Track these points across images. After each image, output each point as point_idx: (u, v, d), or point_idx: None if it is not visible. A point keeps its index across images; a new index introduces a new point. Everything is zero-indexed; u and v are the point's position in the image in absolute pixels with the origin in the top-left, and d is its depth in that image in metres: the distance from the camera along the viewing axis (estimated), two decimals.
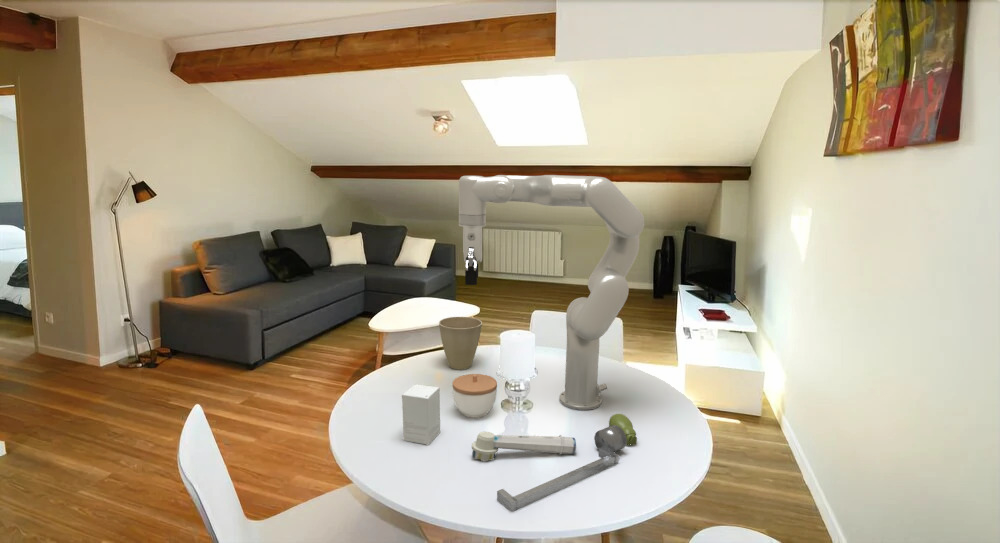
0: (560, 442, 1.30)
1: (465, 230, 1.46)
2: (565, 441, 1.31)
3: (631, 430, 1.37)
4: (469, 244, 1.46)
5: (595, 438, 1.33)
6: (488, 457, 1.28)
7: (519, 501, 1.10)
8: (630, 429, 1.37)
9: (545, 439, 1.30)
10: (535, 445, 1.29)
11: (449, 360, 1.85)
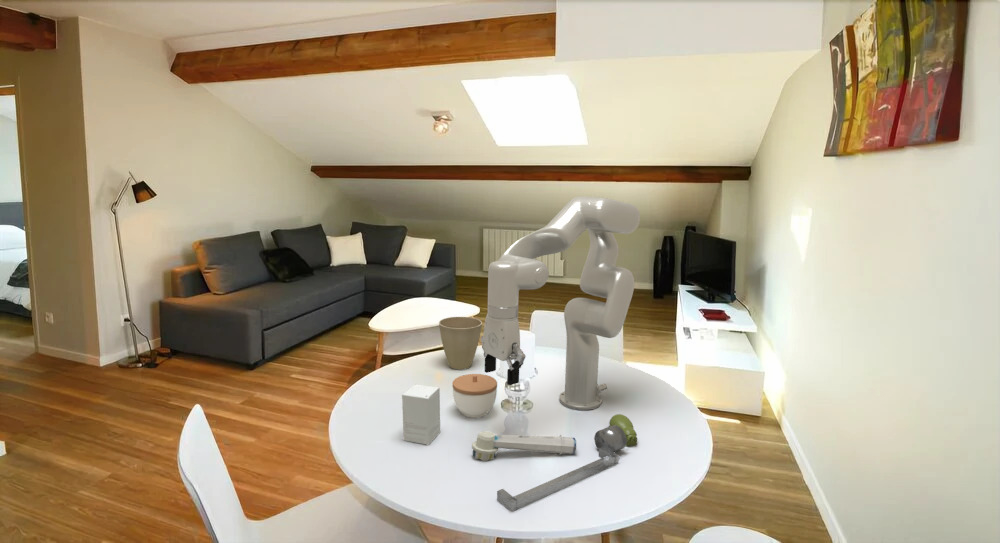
0: (560, 442, 1.30)
1: None
2: (565, 441, 1.31)
3: (632, 430, 1.36)
4: None
5: (595, 438, 1.33)
6: (488, 457, 1.28)
7: (519, 501, 1.10)
8: (631, 430, 1.37)
9: (545, 439, 1.30)
10: (535, 445, 1.29)
11: (449, 360, 1.85)
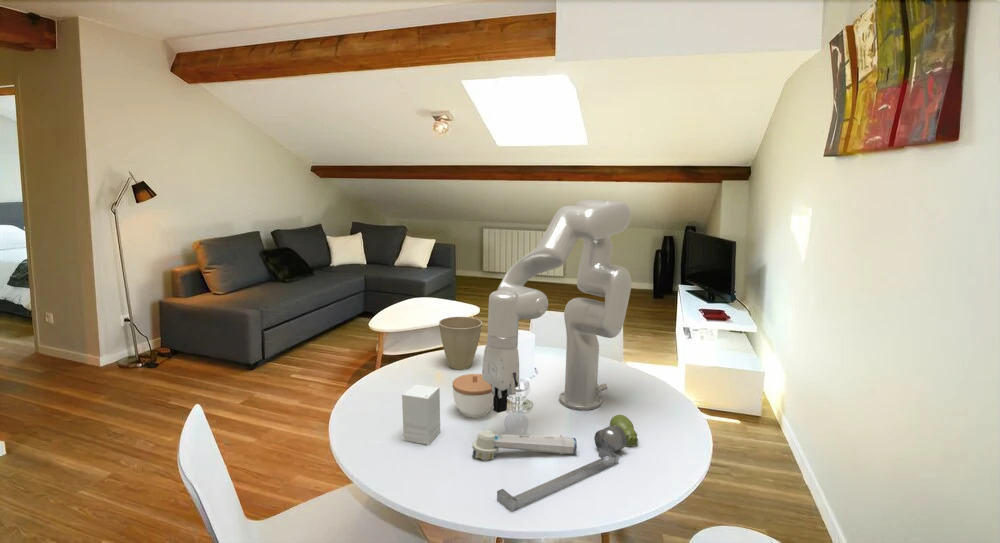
0: (561, 442, 1.30)
1: None
2: (565, 441, 1.31)
3: (632, 431, 1.36)
4: None
5: (595, 438, 1.33)
6: (489, 457, 1.28)
7: (519, 501, 1.10)
8: (631, 430, 1.36)
9: (545, 439, 1.30)
10: (535, 445, 1.29)
11: (449, 360, 1.85)
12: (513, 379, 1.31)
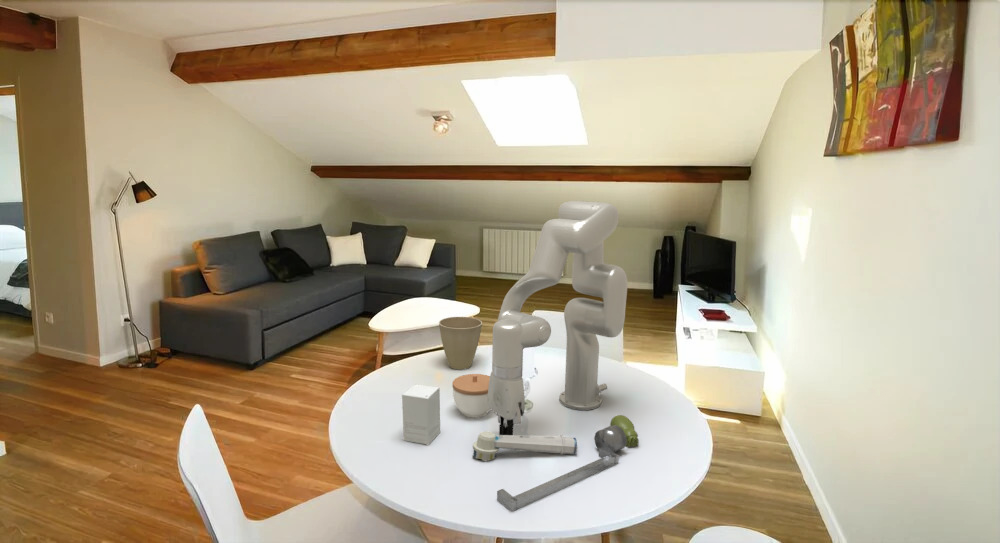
0: (561, 442, 1.30)
1: None
2: (566, 441, 1.31)
3: (633, 431, 1.36)
4: None
5: (595, 438, 1.33)
6: (489, 457, 1.28)
7: (519, 501, 1.10)
8: (632, 431, 1.36)
9: (546, 439, 1.30)
10: (535, 445, 1.29)
11: (449, 360, 1.85)
12: (518, 408, 1.31)
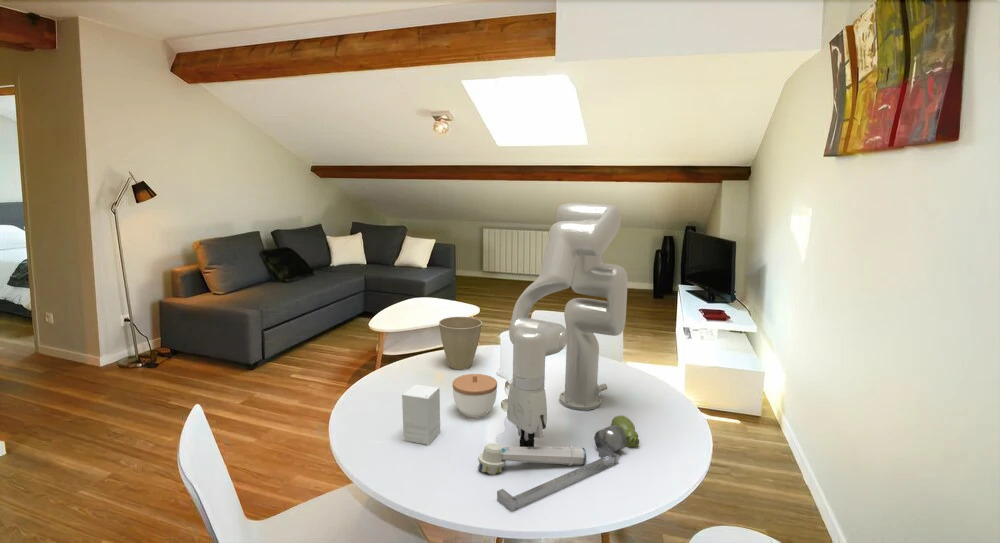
0: (570, 453, 1.26)
1: None
2: (575, 452, 1.26)
3: (633, 432, 1.35)
4: None
5: (595, 438, 1.33)
6: (496, 470, 1.22)
7: (519, 501, 1.10)
8: (632, 431, 1.36)
9: (554, 450, 1.25)
10: (544, 457, 1.24)
11: (449, 360, 1.85)
12: (540, 421, 1.25)
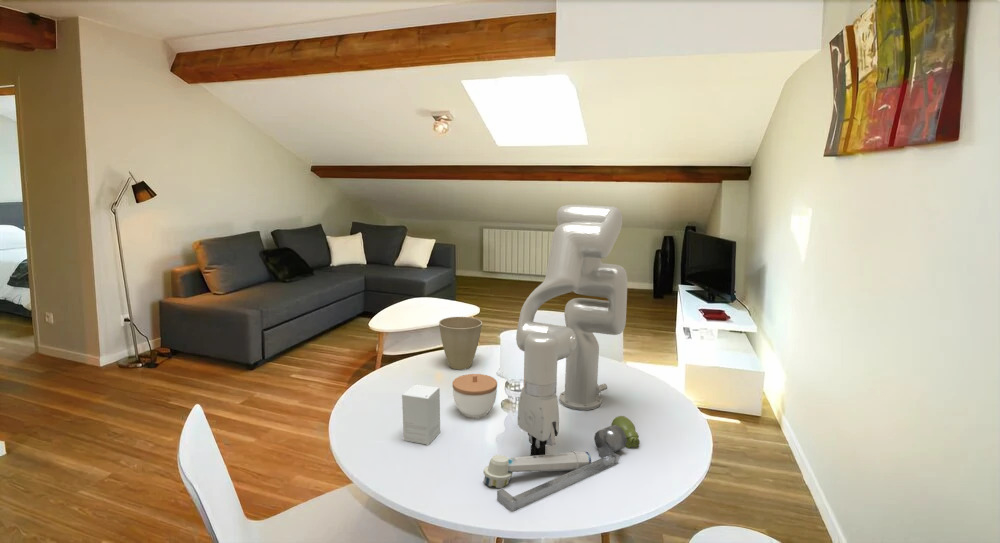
0: (575, 458, 1.23)
1: None
2: (580, 457, 1.24)
3: (634, 432, 1.35)
4: None
5: (595, 438, 1.33)
6: (504, 483, 1.18)
7: (519, 501, 1.10)
8: (633, 432, 1.36)
9: (560, 457, 1.22)
10: (550, 465, 1.21)
11: (449, 360, 1.85)
12: (553, 428, 1.22)
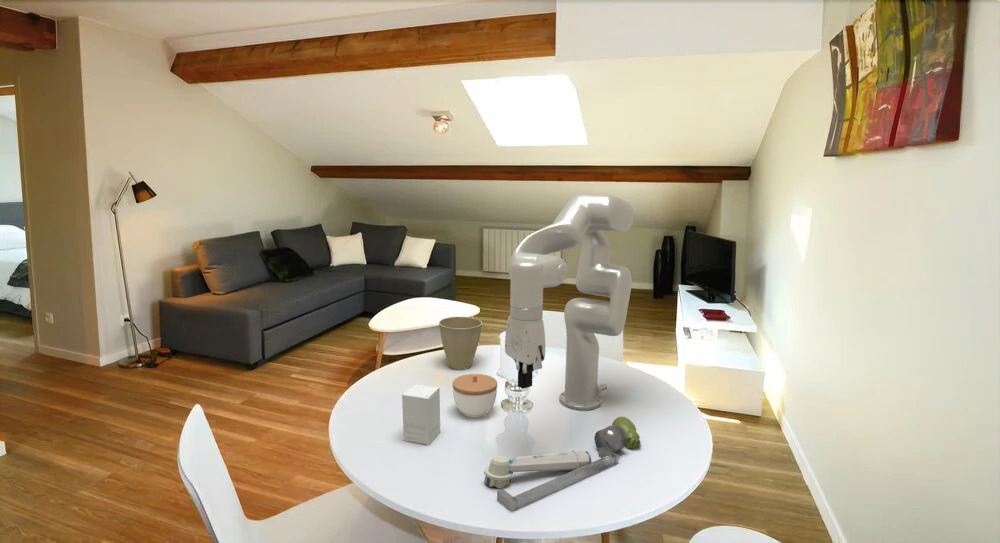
0: (575, 458, 1.23)
1: None
2: (580, 457, 1.24)
3: (635, 433, 1.35)
4: None
5: (595, 438, 1.33)
6: (504, 483, 1.18)
7: (519, 501, 1.10)
8: (633, 432, 1.35)
9: (560, 457, 1.23)
10: (551, 465, 1.21)
11: (449, 360, 1.85)
12: (539, 352, 1.23)
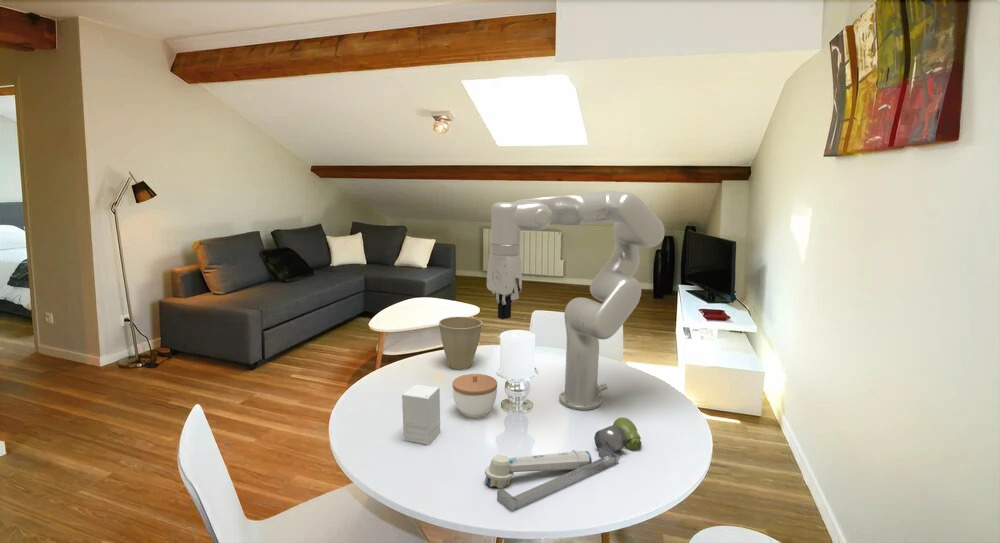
0: (576, 458, 1.24)
1: None
2: (580, 456, 1.24)
3: (636, 434, 1.34)
4: None
5: (595, 438, 1.33)
6: (505, 483, 1.18)
7: (519, 501, 1.10)
8: (634, 433, 1.35)
9: (560, 456, 1.23)
10: (551, 464, 1.21)
11: (449, 360, 1.85)
12: (516, 285, 1.39)
